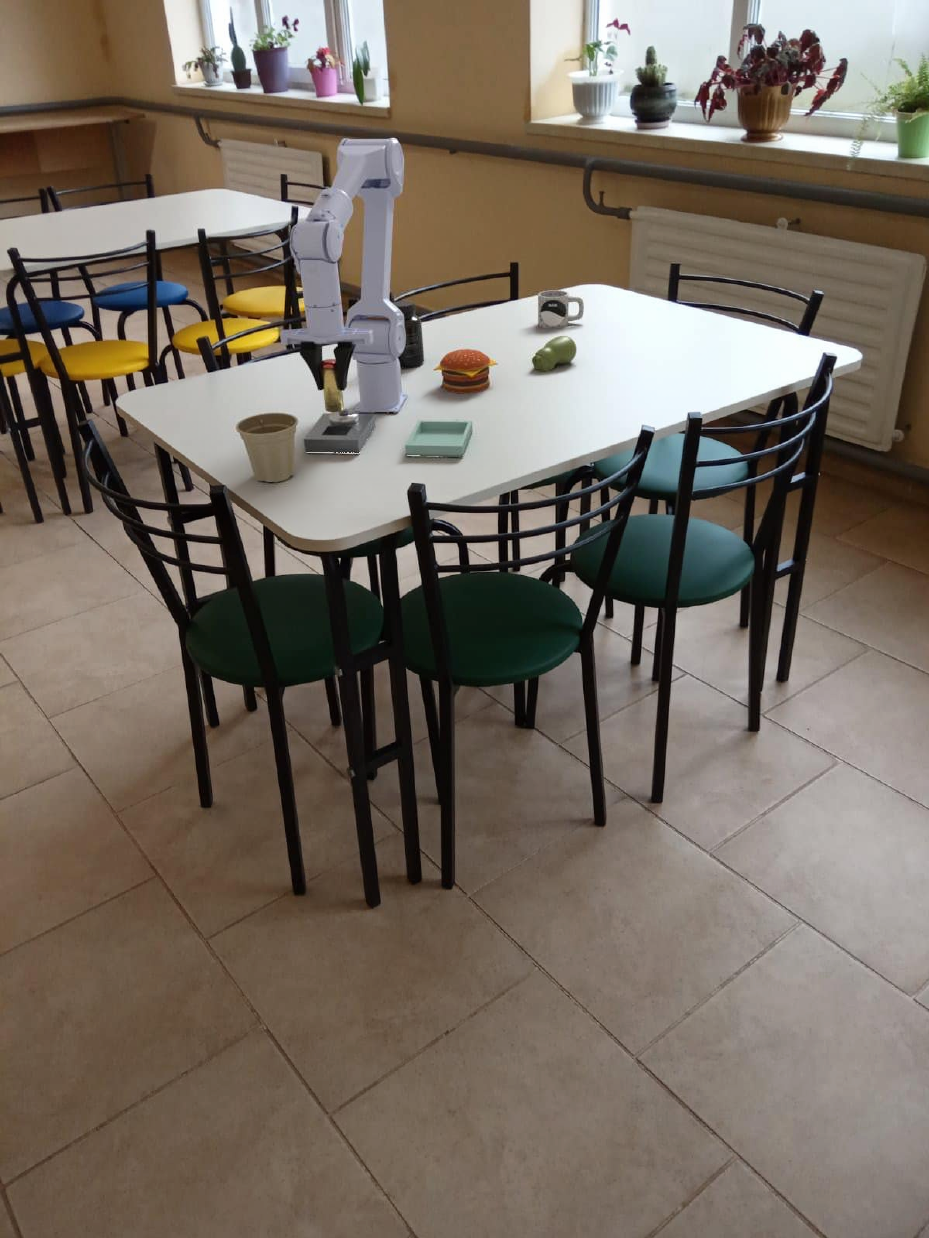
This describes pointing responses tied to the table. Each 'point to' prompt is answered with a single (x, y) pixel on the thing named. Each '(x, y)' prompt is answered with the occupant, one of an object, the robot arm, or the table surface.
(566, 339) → the pear
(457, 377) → the hamburger
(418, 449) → the tray
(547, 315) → the mug
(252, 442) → the flower pot
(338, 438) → the block
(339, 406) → the yellow jar
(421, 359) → the supplement bottle
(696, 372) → the table surface
